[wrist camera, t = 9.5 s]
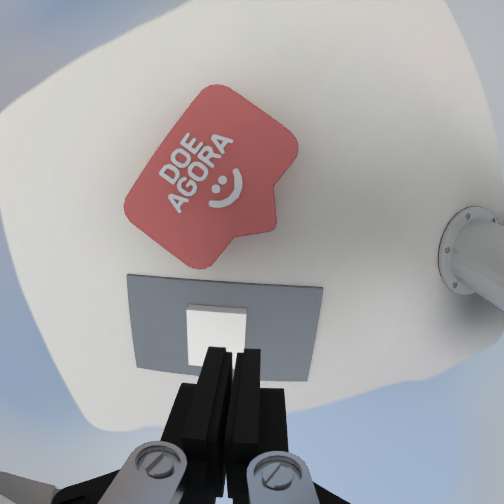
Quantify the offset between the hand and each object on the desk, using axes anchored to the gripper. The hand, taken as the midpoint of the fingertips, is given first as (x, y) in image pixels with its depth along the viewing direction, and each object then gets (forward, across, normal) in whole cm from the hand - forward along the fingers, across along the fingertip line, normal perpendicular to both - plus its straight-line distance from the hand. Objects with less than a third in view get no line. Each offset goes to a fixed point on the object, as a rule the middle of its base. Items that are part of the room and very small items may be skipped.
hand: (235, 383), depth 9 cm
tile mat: (+26, +4, +13) cm, 29 cm away
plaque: (+27, +4, -5) cm, 28 cm away
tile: (+25, +1, +13) cm, 28 cm away
